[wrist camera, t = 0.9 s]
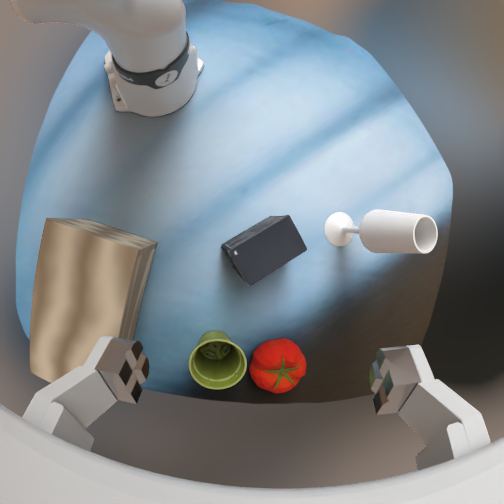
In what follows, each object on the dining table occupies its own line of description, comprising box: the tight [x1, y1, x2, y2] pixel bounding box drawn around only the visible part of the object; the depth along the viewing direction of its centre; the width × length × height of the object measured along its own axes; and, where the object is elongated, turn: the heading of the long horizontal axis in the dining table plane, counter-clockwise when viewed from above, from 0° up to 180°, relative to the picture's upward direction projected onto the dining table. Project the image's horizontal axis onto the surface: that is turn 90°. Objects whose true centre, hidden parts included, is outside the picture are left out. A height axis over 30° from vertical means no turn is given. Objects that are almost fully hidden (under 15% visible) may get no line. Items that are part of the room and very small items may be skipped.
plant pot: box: [189, 331, 247, 389], centre depth 47 cm, size 9×9×9 cm
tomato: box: [249, 338, 306, 393], centre depth 50 cm, size 11×11×8 cm
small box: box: [221, 215, 307, 286], centre depth 46 cm, size 11×6×10 cm, turn 120°
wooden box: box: [30, 218, 158, 383], centre depth 39 cm, size 14×24×16 cm, turn 161°
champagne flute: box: [325, 210, 438, 253], centre depth 42 cm, size 7×7×24 cm
